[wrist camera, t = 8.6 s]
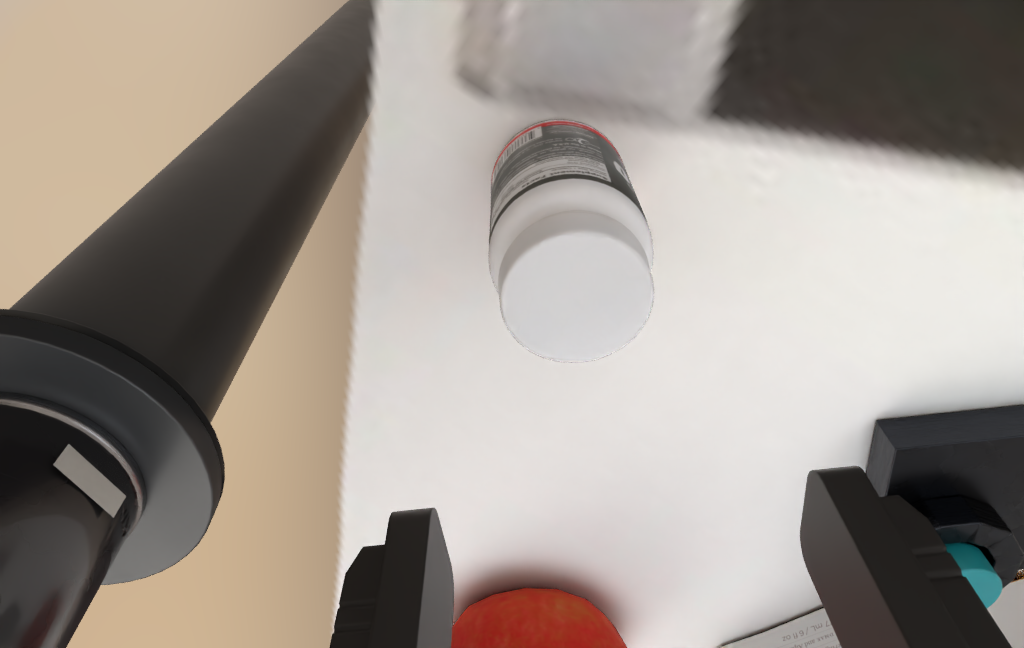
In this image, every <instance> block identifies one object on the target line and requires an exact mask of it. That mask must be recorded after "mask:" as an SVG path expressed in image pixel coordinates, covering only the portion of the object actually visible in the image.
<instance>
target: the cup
mask: <svg viewBox="0 0 1024 648" xmlns="http://www.w3.org/2000/svg"><path fill="white" fill-rule="evenodd" d="M987 610H988V611H989V613H990V614H991V616H992V618H993V619H994V621H995V622H996V624H997V625H998V627H999V628H1000V630H1001V631H1002V633H1003V634H1004V636H1005V637H1006V639H1007V640H1008V642H1009V643H1010V645H1011V647H1012V648H1024V578H1022V579H1019V580H1015V581H1012V582H1010V583H1009V584H1008V585H1007V586H1006V587H1004V588H1003V589H1002V592H1001V594H1000V596H999V597H998V599H997V600H996V601H995V602H994V603H993V604H992V605H991V606H990V607H988V608H987Z"/></svg>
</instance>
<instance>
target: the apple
mask: <svg viewBox="0 0 1024 648" xmlns="http://www.w3.org/2000/svg"><path fill="white" fill-rule="evenodd" d="M451 648H627V647H626V645H625V643H624V642H623V640H622V638H621V637H620V635H619V633H618V632H617V630H616V628H615V627H614V626H613V625H612V623H611V622H610V621H609V620H608V618H607V617H606V616H605V615H604V614H603V613H602V612H601V611H600V610H599V609H597V608H596V607H595V606H594V605H593V604H591V603H590V602H589V601H588V600H587V599H584V598H581V597H578V596H575V595H573V594H570V593H567V592H564V591H561V590H559V589H538V588H523V589H518V590H513V591H508V592H503V593H498V594H494V595H491V596H489V597H487V598H485V599H483V600H480V601H478V602H476V603H474V604H472V605H470V606H468V607H467V609H466V610H465V611H464V612H463V614H462V615H461V616H460V617H459V619H458V620H457V621H456V623H455V624H454V625H453V627H452V639H451Z"/></svg>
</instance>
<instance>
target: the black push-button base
mask: <svg viewBox="0 0 1024 648" xmlns="http://www.w3.org/2000/svg"><path fill="white" fill-rule="evenodd" d="M866 475H867V477H868V478H869V480H870V482H871V483H872V485H873V487H874V488H875V490H876V492H877V493H878V495H879V497H883V496H893V495H899V496H900V497H902V498H903V499H904V500H905V501H907V502H908V503H909V504H910V505H912V506H913V507H914V508H915V509H917V510H918V511H919V512H920V513H922V514H923V515H924V516H925V517H927V518H928V520H929V521H930V523H931V524H932V526H933V527H934V529H935V530H936V532H937V533H938V535H939V536H940V538H941V540H942V541H943V543H944V544H952V543H963V542H965V543H969V544H972V545H974V546H975V547H977V548H978V549H980V550H981V552H982V553H983V554H984V556H985V557H986V559H987V560H988V562H989V563H990V564H991V566H992V567H993V569H994V570H995V572H996V573H997V574H998V576H999V577H1000V579H1001V581H1002V589H1003V588H1004V587H1006V586H1007V585H1008V584H1009V583H1010V582H1012V581H1013V580H1014V579H1015V577H1016V574H1017V572H1018V570H1020V569H1024V405H1018V406H1008V407H999V408H989V409H980V410H970V411H961V412H951V413H942V414H932V415H923V416H913V417H904V418H894V419H885V420H877V421H876V426H875V431H874V436H873V441H872V446H871V451H870V456H869V461H868V466H867V471H866Z"/></svg>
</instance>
